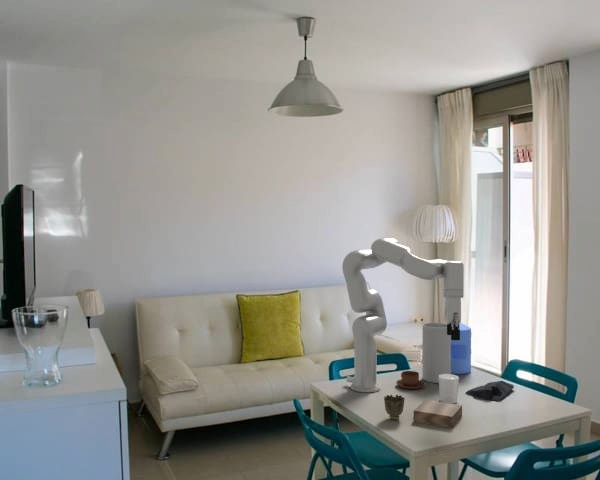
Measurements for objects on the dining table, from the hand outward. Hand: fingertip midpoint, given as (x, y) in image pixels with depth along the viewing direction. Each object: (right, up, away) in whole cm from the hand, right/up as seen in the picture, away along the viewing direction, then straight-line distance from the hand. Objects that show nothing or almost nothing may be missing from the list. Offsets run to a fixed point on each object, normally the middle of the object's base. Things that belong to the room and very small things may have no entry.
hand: (453, 337), depth 222 cm
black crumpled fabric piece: (+22, -27, +21) cm, 41 cm away
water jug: (+15, -26, +56) cm, 64 cm away
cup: (-25, -28, -11) cm, 39 cm away
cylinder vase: (+3, -26, +40) cm, 48 cm away
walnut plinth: (-8, -28, -11) cm, 31 cm away
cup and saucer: (-11, -27, +30) cm, 42 cm away
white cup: (+1, -27, +10) cm, 29 cm away
